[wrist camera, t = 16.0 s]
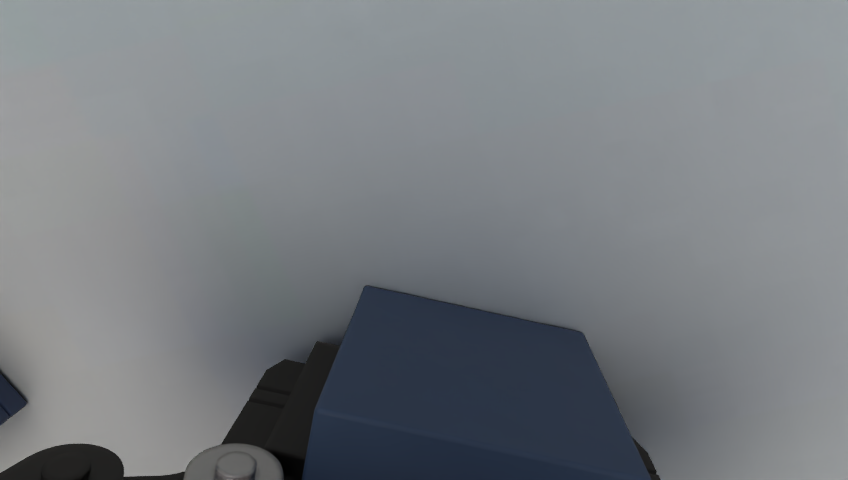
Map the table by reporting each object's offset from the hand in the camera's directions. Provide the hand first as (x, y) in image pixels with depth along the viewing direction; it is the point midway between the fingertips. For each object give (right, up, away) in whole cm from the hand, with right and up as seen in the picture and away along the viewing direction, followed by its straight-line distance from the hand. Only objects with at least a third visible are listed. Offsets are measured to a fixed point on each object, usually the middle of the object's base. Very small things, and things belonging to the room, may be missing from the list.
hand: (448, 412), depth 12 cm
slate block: (0, 0, 0) cm, 0 cm away
